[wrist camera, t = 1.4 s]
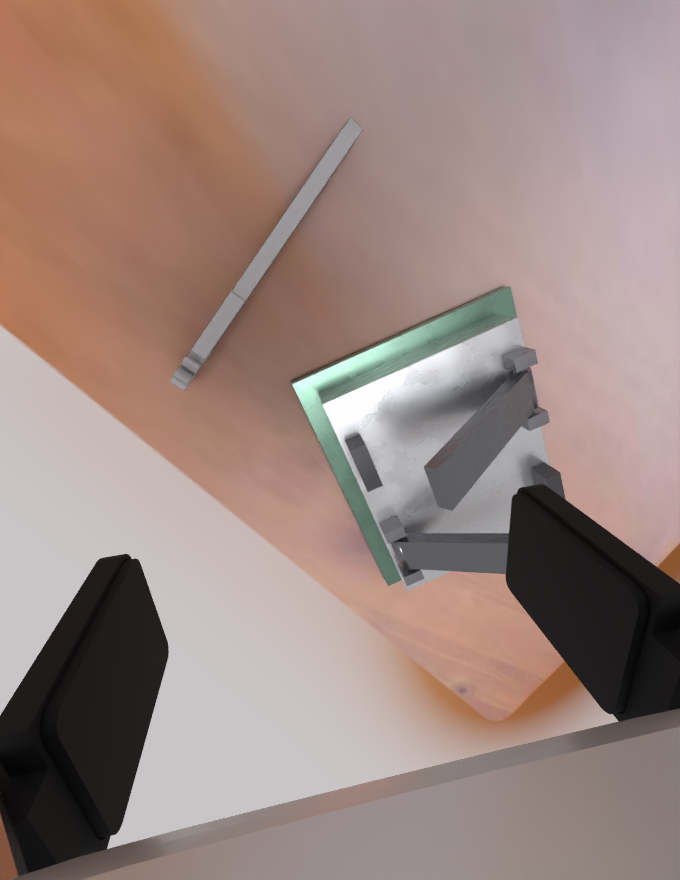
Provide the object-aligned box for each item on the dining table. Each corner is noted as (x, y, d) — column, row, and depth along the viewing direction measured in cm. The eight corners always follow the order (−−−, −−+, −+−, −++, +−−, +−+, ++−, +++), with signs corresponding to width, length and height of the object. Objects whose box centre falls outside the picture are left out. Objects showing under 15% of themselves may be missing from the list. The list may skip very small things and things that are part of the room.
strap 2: (403, 558, 34) (399, 569, 33) (391, 532, 33) (387, 542, 32) (571, 564, 28) (572, 578, 27) (564, 532, 26) (565, 545, 26)
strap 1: (517, 367, 29) (533, 366, 29) (525, 403, 31) (541, 403, 30) (422, 466, 23) (439, 469, 22) (436, 507, 24) (454, 511, 23)
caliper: (195, 379, 30) (176, 403, 25) (182, 371, 30) (160, 393, 24) (361, 131, 26) (386, 89, 21) (349, 118, 26) (371, 71, 20)
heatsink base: (503, 286, 31) (552, 287, 26) (551, 505, 40) (595, 541, 34) (291, 381, 31) (295, 402, 26) (385, 578, 40) (403, 626, 34)
